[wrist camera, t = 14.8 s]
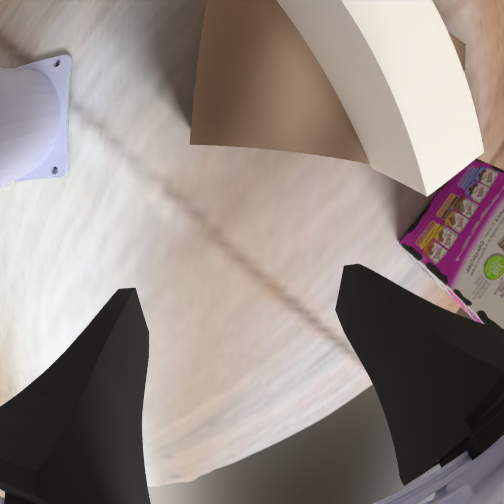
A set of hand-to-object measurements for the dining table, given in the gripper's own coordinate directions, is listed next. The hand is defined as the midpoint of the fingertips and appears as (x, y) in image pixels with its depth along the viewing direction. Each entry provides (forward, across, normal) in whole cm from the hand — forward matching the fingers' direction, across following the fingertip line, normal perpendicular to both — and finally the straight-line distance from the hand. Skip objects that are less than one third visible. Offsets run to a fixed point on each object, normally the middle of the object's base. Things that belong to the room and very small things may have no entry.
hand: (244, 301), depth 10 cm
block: (+4, -6, -8) cm, 11 cm away
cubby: (+10, -6, -8) cm, 14 cm away
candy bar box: (+10, -20, +1) cm, 22 cm away
